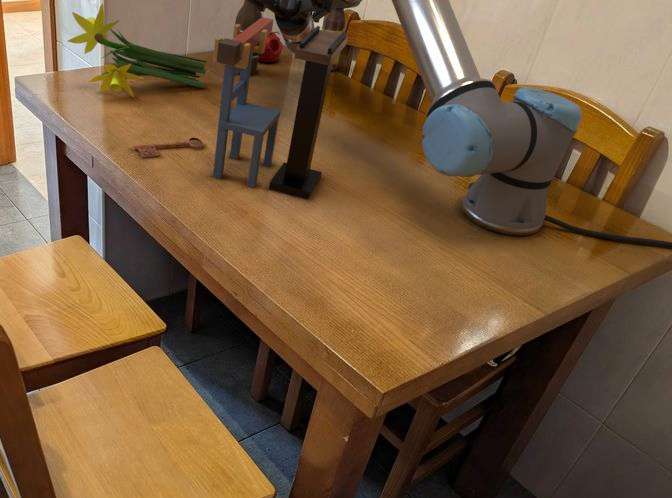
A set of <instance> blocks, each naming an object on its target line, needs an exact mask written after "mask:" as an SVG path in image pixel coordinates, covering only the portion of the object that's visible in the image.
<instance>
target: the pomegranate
mask: <svg viewBox="0 0 672 498" xmlns="http://www.w3.org/2000/svg"><path fill="white" fill-rule="evenodd" d="M277 34H278V35H280V36H281V33H280V32H279V31H272V33H270V34H269V35H268V36H267V38H266V45H265V52H264V53H263V54H260V53H259V56H258V62H261V63H273V62H276V61H277V60H278V59H279V57H280V55H281V53H282V51H283V41H281V38H280V37H279V36H278V35H277Z"/></svg>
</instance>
